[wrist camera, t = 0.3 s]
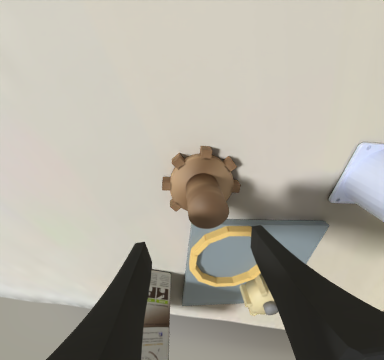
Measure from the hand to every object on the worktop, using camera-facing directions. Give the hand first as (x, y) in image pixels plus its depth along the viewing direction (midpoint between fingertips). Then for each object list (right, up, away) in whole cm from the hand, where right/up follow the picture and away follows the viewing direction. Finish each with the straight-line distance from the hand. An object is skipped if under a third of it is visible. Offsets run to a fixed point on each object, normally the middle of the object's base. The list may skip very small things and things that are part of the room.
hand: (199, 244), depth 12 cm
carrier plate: (+8, -9, +17) cm, 21 cm away
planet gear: (0, +4, +9) cm, 9 cm away
